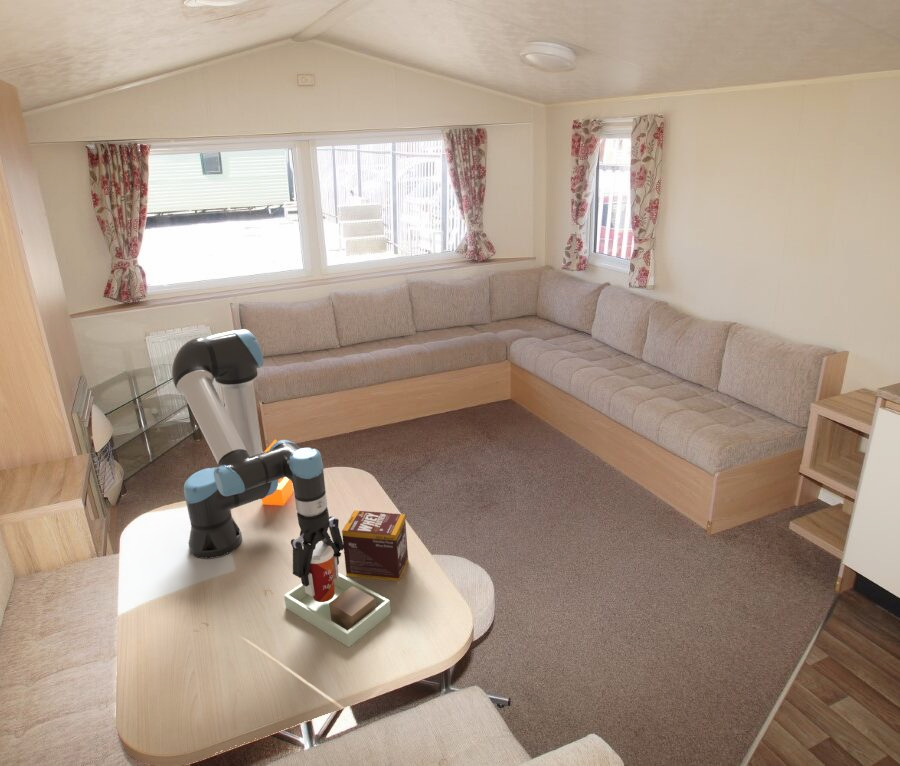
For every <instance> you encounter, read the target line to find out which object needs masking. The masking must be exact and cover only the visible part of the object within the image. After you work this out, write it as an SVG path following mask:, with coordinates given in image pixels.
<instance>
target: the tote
mask: <svg viewBox="0 0 900 766" xmlns="http://www.w3.org/2000/svg"><path fill="white" fill-rule="evenodd" d="M338 573H339V578H338V579H335V578H334V589H335V594H334V597H333V598H332V599H331V600H329V601H326V602H317V601H315V600H314V598H313V597H312V596H311V595H309V594H307V593H305V586H304V585H303V584H302V583H300V584H299V585H297V586H295V587H294V588H292V589H291V590H290V591H288V592H287V593H285V594H284V595H283V598H284V603H285V609H287V610H288V611H290V612H292V613H293V614H295V615H297V616H298V617H299V618H301V619H303V620H304V621H306V622H307V623H309V624H310V625H312V626H314V627H316V628H317V629H319V630H321V631H322V632H324V633H325V634H327V635H329V636H330V637H332V638H334V639H335V640H336V641H338V642H340V643H341V644H343V645H345V646H346V647H347V648H350V647H352V646H353V645H354V644H355V643H357V642H358V641H359V640H360V639H361V638H362V637H364V636H365V635H366V634H368V633H369V632H370V631H371V630H372V629H374V627H376V626H377V625H379V624H380V623H381V622H382V621H384V619H386V618H387V617H388V616H389V615H391V613H392V611H391V600H390V599H388V598H386V597H385V596H383V595H381V594H379V593H377V592H375V591H373V590H371V589H370V588H368V587H366V586H364V585H362V584H361V583H358V582H357V581H355V580H353V579H351V578H350V577H348V576H345V575H343V574H342V573H340V572H338ZM352 586H353V587H355V588H357V589H359V590H361V591H363V592H364V593H366V594H368V595H370V596H372V597H374V598H375V605H376V609H374V610H373V611H372V612H370V613H369V614H368V615H367V616H365V617H364V618H363V619H362V620H360V621H359V622H358V623H357V624H355V625H354V626H353V627H352V628H350V629H349V630H348V631H347V630H346V629H344V628H342V627H341V626H339V625H337V624H336V623H334V622H332V621H331V614H330V607H329V603H330V602H331V601H333V600H334V599H335V598H337V597H338V596H340V595H341V594H342V593H344V592H345V591H346V590H348V589H349V588H350V587H352Z"/></svg>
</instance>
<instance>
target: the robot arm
mask: <svg viewBox="0 0 900 766" xmlns="http://www.w3.org/2000/svg"><path fill="white" fill-rule="evenodd" d="M263 365H264V355H263V352H262V348H261V347H260V344H259V342H258V340H257V338H256V337H255V335H254V334H253V333H252V332H251V331H250V330H249V329H245V328H241V329H235V330H234V329H232V330H230V331H229V330H228V331H225V332H221V333H214V334H210V335H207V336H202V337H201V336H200V337H196V338H192V339H190V340H189V341H187V342H186V343H185V344H183V345H182V346H181V347H180V349H179V350H178V352H177V353H176V354H175V357H174V359H173V363H172V369H171V375H172V377H171V378H172V381H173V385H174V386H175V389H176V391H177V393H178V394H180V395H181V396H183V397H184V398H185V400H186V402H187V404H188V406H189V408H190V411H191V413H192V414H193V416H194V418H195V420H196V422H197V424H198V426H199V428H200V431H201V433H202V435H203V437H204V439H205V441H206V443H207V445H208V447H209V449H210V451H211V453H212V455H213V457H214V460H215V461H216V463H217V466H218V467H216V466H215V467H207V468H203V469H200V470H198V471H196V472H195V473H193V474H192V475H190V476H189V477H188V478H187V479H186V481H185V482H184V485H183V493H184V494H183V495H184V500H185V503H186V508H187V512H188V516H189V523H190V526H191V527H190V531H189V539H188V549H189V552H190V554H191V555H192V556H193V557H196V558H198V559H206V560H207V559H216V558H219V557H222V556H225V555H228V554H229V553H232V552H233V551H235V550H236V549H237V548H238V547H239V546H240V545H241V543H242V540H243V537H242V536H243V535H242V531H241V529H240V527H239V525H238V524H237V522H236V520H235V519H234V518H233V516H232V510H233V509H236V508H239V507H240V506H244V505H246V504H250V503H253V502H255V501H258V500H262V499H263V498H265V497H266V496H269V495H271V494H273V493H274V492H275V491H276V490H277V487H278V479H281V478H284V477H287V478H288V479H289V480H291V481H292V485H293V493H294V494H293V495H294V501H295V510H296V514H297V522H298V526H299V528H300V532H299V536H298V537H297V538H296V539H294V538H292V539H291V541H290V544H291V547H292V575H294V576H295V577H297V578H299V579H301V580H300V581H301V584H303V585H304V586H305V593H307V594H309V595H311V596H312V597H313V596H314V595H315V594H314V586H313V579H312V574H311V573H309V570H310V565H311V560H312V555H313V550H315V547H316V544H317V543H320V542H322V543H325V544H327V545H329V546H331V547H332V549H333V550H334V555H333V566H334V578H335V579H338V578H339V573H340V572H339V566H338V565H340V557H341V556H342V552H341V551H344V545H343V537H342V533H341V531H340V528H339V524H340V523H339V522H340V521H339V519H338V518H336V517H334V516H333V515H330V514H329V508H328V499H327V491H326V481H325V472H324V462H323V460H322V454H321V452H320V451H319V450H318V449H317V448H312V447H300V446H299V445H298V444H297V443H295V442H292V441H291V440H288V439H280V440H276V441H277V442H276V443H275V444H274V445H272V446H271V448H270V450H269V451H267V452H265V451H263V445H262V438H261V430H260V423H259V414H258V410H257V409H258V407H257V401H256V395H255V386H254V381H255V380H256V379H257V377H258V376H259V375H258V369H260V368H261V367H262V366H263ZM214 381H215V383H217V384H218V385H220V386H221V387H222V394H223V400H224V404H223V402H222V399H221V398H220V396H219V393H218V392H217V389H216V388H215V385H214V384H213V383H214ZM329 515H330V516H329ZM328 530H329V532H330V535H329V533H328Z"/></svg>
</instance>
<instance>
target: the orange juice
mask: <svg viewBox="0 0 900 766" xmlns="http://www.w3.org/2000/svg"><path fill="white" fill-rule="evenodd" d="M277 441H278V440H276V439H274V440H273V441H272V443H270V445H269V446H268V447H267V448H266V449H265V450H264V452H267V451H269V450H270V448H271V446H272V445H274V444H275V443H276V442H277ZM293 493H294V488H293V483H292V481H291V480H289V479H288V478H287V477H284V478H281V479H278V487H277V490H276V491H275V492H274V493H273V494H271V495H269V496H266V497H265V498H263V499H261V504H262V505H271V506H285V504H286V503H287V501H288V500H289V499H290V498H291V496H292V495H293Z"/></svg>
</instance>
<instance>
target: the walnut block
mask: <svg viewBox="0 0 900 766" xmlns="http://www.w3.org/2000/svg"><path fill="white" fill-rule="evenodd" d="M329 607H330V614H331V621H332V622H334V623H336V624H337V625H339V626H341V627H342V628H344V629H346V630H347V631H348V630H349V629H350V628H352V627H353V626H354V625H355V624H357V623H358V622H359V621H360V620H362V619H363V618H364V617H365V616H367V615H368V614H369V613H370V612H372V611H373V610H374V609H376V605H375V598H374V597H372V596H370V595H368V594H366V593H364V592H363V591H361V590H359V589H357V588H355V587H353V586H352V587H350V588H349V589H348V590H346V591H345V592H344V593H342V594H341V595H340V596H338V597H337V598H335V599H334V600H333V601H331V602H330V603H329Z"/></svg>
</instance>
